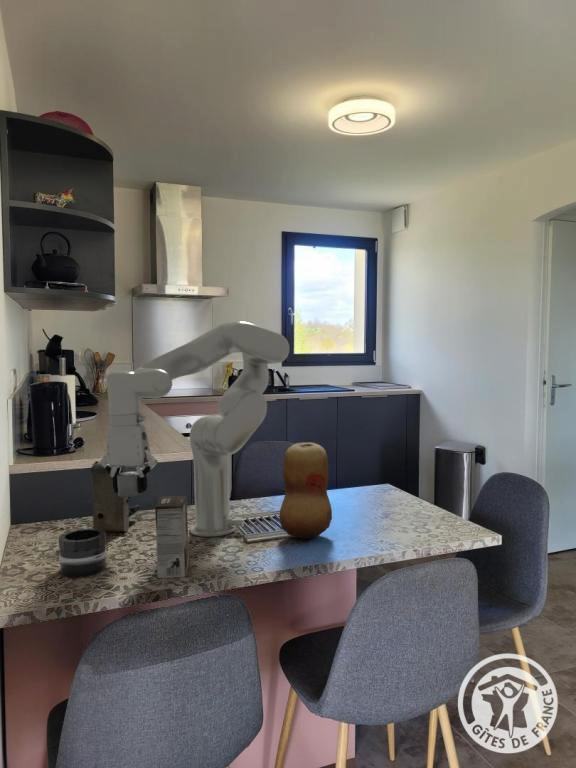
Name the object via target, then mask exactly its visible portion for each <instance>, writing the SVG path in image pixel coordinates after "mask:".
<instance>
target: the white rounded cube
mask: <svg viewBox="0 0 576 768" xmlns="http://www.w3.org/2000/svg"><path fill="white" fill-rule="evenodd" d="M138 477H139V474H138V472H137V470H136V471H135V470H132V471H128V472H124V473H120V474H118V475H117V486H118V496H120V497H130V498H131V497H137V496H140V495H142V494H143V493H138V483H137V478H138Z"/></svg>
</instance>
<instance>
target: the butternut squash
mask: <svg viewBox="0 0 576 768" xmlns="http://www.w3.org/2000/svg"><path fill="white" fill-rule="evenodd" d="M283 459H284V462H283V473H282V474H283V482H284V497H283V500H282V503H281V505H280V510H279V524H280V526H281V528H282V530H284V532H286V534H287V535H289V536H291V537H295V538H297V539H303V540H310V539H315V538H317V537H319V536H320V535H322V534H323V533H324V532H326V531H327V529H329V528H330V527H331V526H330V524H331V522H332V520H333V513H332V512H333V510H332V505H331V502H330V498H329V495H328V491H327V488H328V484H329V480H330V478H329V459H328V454H327V451H326V449H325V448H324V447H323V446H321V445H320V444H317V443H315V442H311V441H310V442H296V443H294V444H292V445H291V446H289V447H288V448H287V449H286V451H285V454H284V458H283Z"/></svg>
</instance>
